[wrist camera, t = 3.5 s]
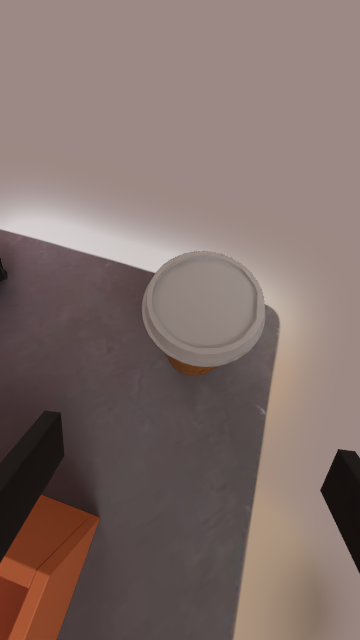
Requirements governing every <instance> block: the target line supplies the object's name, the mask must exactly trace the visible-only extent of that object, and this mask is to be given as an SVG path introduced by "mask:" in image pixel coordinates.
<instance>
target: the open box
mask: <svg viewBox="0 0 360 640" xmlns="http://www.w3.org/2000/svg"><path fill="white" fill-rule="evenodd" d="M99 519H100V517H97V516H95V515H92V514H90V513H87V512H85V511H82V510H79V509H77V508H74V507H72V506H69V505H67V504H64V503H61V502H59V501H56V500H54V499H51V498H49V497H46V496H43V495H40V497H39V499H38V501H37V502H36V504H35V506H34V507H33V509H32V511H31V512H30V514H29V516H28V517H27V519H26V521H25V522H24V524H23V526H22V528H21V529H20V531H19V533H18V534H17V536H16V538H15V539H14V541H13V543H12V544H11V546H10V548H9V549H8V551H7V553H6V555H5V556H4V558H3V560H2V561H1V563H0V640H57V637H58V634H59V631H60V629H61V626H62V623H63V620H64V617H65V615H66V612H67V609H68V606H69V603H70V601H71V598H72V595H73V592H74V589H75V587H76V584H77V581H78V578H79V575H80V573H81V570H82V567H83V564H84V561H85V558H86V556H87V553H88V550H89V547H90V544H91V542H92V539H93V536H94V533H95V530H96V528H97V525H98V522H99Z"/></svg>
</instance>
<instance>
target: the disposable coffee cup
mask: <svg viewBox="0 0 360 640" xmlns="http://www.w3.org/2000/svg"><path fill="white" fill-rule="evenodd" d="M142 314H143V321H144V324H145V327H146V330H147V332H148V334H149V336H150V337H151V339H152V340H153V341H154V343H155V344H156V345H157V346H158V347H159V348H160V349H161V350H162V351H164V352H165V354H166V355H167V357H168V359H169V361H170V362H171V364H172V365H173V366H174V367H175V368H176V369H177V370H178V371H180V372H182V373H184V374H187V375H193V376H196V375H202V374H205V373H207V372H209V371H210V370H212V369H213V368H215V367H216V366H220V365H224V364H227V363H230V362H232V361H235V360H237V359H239V358H240V357H241V356H243V355H244V354H246V353H247V352H248V351H250V349H251V348H252V347H253V346H254V345H255V344H256V342H257V341H258V339H259V337H260V335H261V333H262V331H263V327H264V324H265V306H264V296H263V293H262V290H261V287H260V285H259V283H258V281H257V280H256V278H255V277H254V276H253V274H252V273H251V272H250V271H249V270H248V269H247V268H246V267H245V266H243V265H242V264H241V263H239V262H237V261H236V260H234V259H233V258H231V257H228V256H225V255H223V254H219V253H214V252H208V251H201V252H200V251H198V252H190V253H185V254H182V255H180V256H177V257H175V258H173V259H171V260H169V261H168V262H167V263H165V264H164V265H163V266H162V267H161V268H160V269H159V270H158V271H157V272H156V273H155V275H154V277H153V278H152V280H151V281H150V283H149V284H148V286H147V288H146V290H145V293H144V297H143V302H142Z"/></svg>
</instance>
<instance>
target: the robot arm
mask: <svg viewBox="0 0 360 640" xmlns="http://www.w3.org/2000/svg"><path fill="white" fill-rule="evenodd" d="M63 457H64V447H63V435H62V423H61V413H59V412H51V411H44V412H43V414H42V415H41V416H40V417H39V418H38V419H37V421H36V422H35V423H34V424H33V425H32V427H31V428H30V429H29V430H28V431H27V432H26V434H25V435H24V436H23V437H22V438H21V440H20V441H19V442H18V443H17V444H16V445H15V447H14V448H13V449H12V450H11V451H10V453H9V454H8V455H7V456H6V457H5V458H4V460H3V461H2V462H1V463H0V563H1V561H2V560H3V558H4V556H5V555H6V553H7V551H8V549H9V548H10V546H11V544H12V543H13V541H14V539H15V538H16V536H17V534H18V533H19V531H20V529H21V528H22V526H23V524H24V522H25V521H26V519H27V517H28V516H29V514H30V512H31V511H32V509H33V507H34V506H35V504H36V502H37V501H38V499H39V497H40V495H41V494H42V492H43V490H44V489H45V487H46V485H47V484H48V482H49V480H50V479H51V477H52V475H53V474H54V472H55V470H56V468H57V467H58V465H59V463H60V462H61V460H62V458H63ZM320 491H321V493H322V495H323V497H324V499H325V501H326V503H327V505H328V508H329V510H330V512H331V514H332V516H333V518H334V520H335V522H336V525H337V526H338V529H339V531H340V533H341V535H342V537H343V539H344V541H345V544H346V546H347V548H348V550H349V552H350V554H351V556H352V558H353V560H354V562H355V565H356V567H357V569H358V571H359V573H360V458H359V456H358V455H357V454H356V452H355V451H347V450H340V449H338V451H337V453H336V456H335V458H334V460H333V463H332V465H331V467H330V469H329V472H328V474H327V476H326V479H325V481H324V483H323V486H322V488H321V490H320Z"/></svg>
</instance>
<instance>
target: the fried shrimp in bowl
mask: <svg viewBox="0 0 360 640" xmlns="http://www.w3.org/2000/svg"><path fill="white" fill-rule="evenodd" d="M5 279H7V272H6V271H5V270H4V269H3V266H2V263H1V258H0V281H2V280H5Z"/></svg>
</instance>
